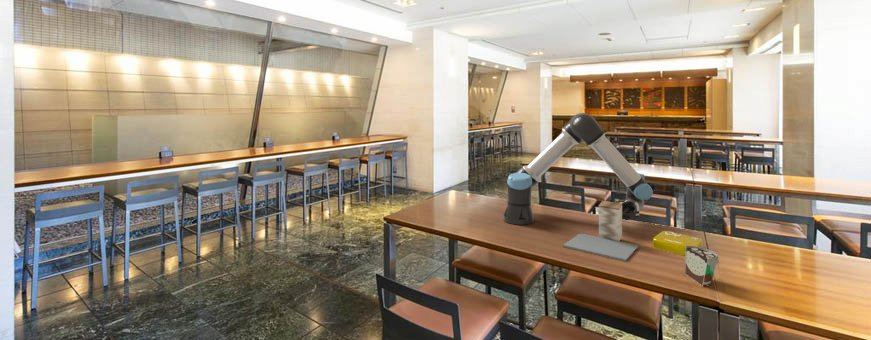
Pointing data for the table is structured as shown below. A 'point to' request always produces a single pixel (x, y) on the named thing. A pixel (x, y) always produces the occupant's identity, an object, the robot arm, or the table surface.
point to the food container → (700, 264)
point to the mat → (602, 246)
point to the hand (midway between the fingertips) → (614, 219)
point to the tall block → (610, 220)
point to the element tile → (675, 242)
